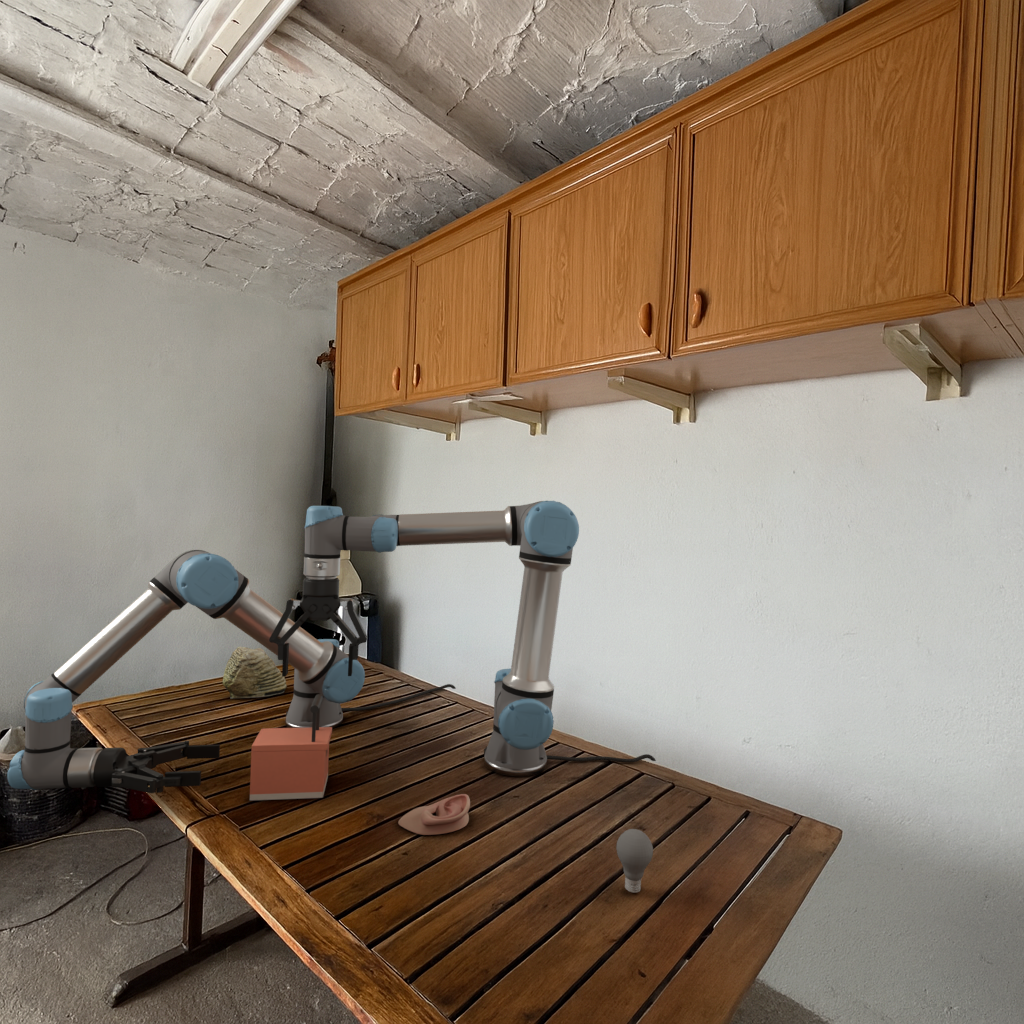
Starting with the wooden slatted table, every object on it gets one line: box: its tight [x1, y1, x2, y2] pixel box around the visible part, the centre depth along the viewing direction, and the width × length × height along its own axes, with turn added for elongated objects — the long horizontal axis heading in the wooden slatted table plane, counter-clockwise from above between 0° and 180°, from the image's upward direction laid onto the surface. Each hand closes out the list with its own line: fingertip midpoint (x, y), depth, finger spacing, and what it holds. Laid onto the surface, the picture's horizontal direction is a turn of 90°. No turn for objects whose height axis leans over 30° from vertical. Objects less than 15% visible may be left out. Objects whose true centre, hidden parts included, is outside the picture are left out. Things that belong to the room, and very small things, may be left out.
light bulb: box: [615, 828, 654, 894], centre depth 106 cm, size 6×6×10 cm
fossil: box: [222, 646, 288, 699], centre depth 198 cm, size 9×18×15 cm, turn 132°
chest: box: [249, 744, 330, 801], centre depth 137 cm, size 15×10×10 cm
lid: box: [251, 694, 333, 752], centre depth 137 cm, size 15×10×9 cm, turn 100°
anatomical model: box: [397, 793, 471, 836], centre depth 125 cm, size 13×4×12 cm
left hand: (210, 764), depth 134 cm, fingers open, 13 cm apart
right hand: (317, 674), depth 137 cm, fingers open, 13 cm apart
